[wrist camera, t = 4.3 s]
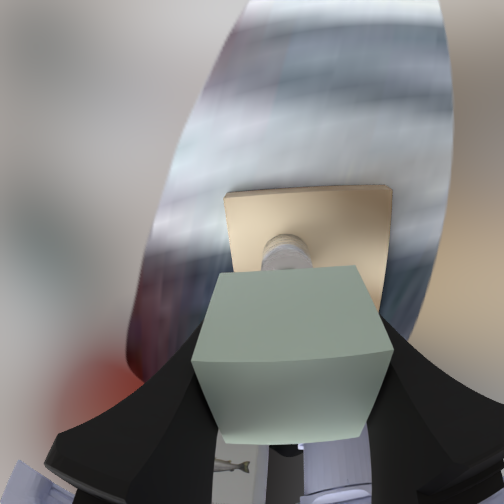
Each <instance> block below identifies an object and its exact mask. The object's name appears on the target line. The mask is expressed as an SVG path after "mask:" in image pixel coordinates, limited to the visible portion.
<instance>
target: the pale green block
mask: <svg viewBox="0 0 504 504" xmlns="http://www.w3.org/2000/svg"><path fill="white" fill-rule="evenodd" d="M393 351H394V348H393V346H392V344H391V341H390V339H389V337H388V334H387V332H386V330H385V327H384V325H383V323H382V320H381V318H380V316H379V314H378V311H377V309H376V307H375V305H374V303H373V301H372V298H371V296H370V294H369V292H368V290H367V288H366V286H365V284H364V282H363V280H362V278H361V276H360V274H359V272H358V270H357V268H356V266H355V265H348V266H334V267H319V268H303V269H287V270H270V271H251V272H232V273H220V274H219V277H218V280H217V283H216V286H215V289H214V292H213V295H212V298H211V301H210V304H209V307H208V310H207V313H206V316H205V319H204V322H203V325H202V328H201V331H200V334H199V337H198V340H197V344H196V347H195V350H194V353H193V356H192V359H191V362H192V365H193V368H194V370H195V373H196V376H197V378H198V381H199V383H200V386H201V388H202V391H203V393H204V396H205V398H206V400H207V403H208V405H209V408H210V410H211V412H212V414H213V417H214V419H215V421H216V424H217V426H218V428H219V430H220V432H221V435H222V437H223V439H224V441H225V443H230V444H255V445H276V444H301V443H315V442H325V441H334V440H342V439H349V438H356V437H359V436H360V434H361V432H362V430H363V428H364V425H365V423H366V421H367V419H368V417H369V414H370V412H371V410H372V408H373V405H374V403H375V400H376V398H377V395H378V393H379V390H380V388H381V385H382V383H383V380H384V377H385V375H386V372H387V369H388V366H389V363H390V360H391V357H392V354H393Z"/></svg>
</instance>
